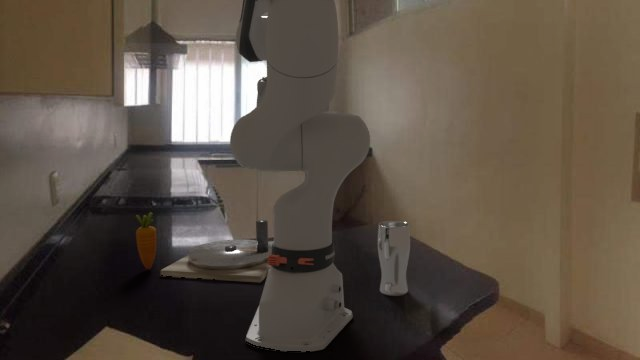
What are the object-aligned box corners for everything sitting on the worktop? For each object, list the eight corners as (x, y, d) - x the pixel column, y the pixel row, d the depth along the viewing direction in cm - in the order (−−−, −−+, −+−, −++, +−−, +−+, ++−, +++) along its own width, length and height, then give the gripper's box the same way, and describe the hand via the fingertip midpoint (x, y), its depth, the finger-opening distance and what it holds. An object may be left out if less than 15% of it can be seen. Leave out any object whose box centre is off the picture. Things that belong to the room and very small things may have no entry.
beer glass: (409, 297, 99) (410, 228, 97) (376, 295, 100) (376, 227, 99) (410, 286, 106) (410, 221, 104) (378, 284, 107) (378, 220, 105)
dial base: (260, 282, 110) (260, 275, 110) (160, 276, 116) (160, 269, 116) (291, 252, 135) (291, 246, 135) (208, 248, 141) (208, 243, 141)
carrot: (134, 272, 120) (130, 214, 118) (146, 266, 124) (143, 210, 123) (150, 273, 118) (146, 215, 116) (162, 267, 123) (159, 211, 121)
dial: (255, 272, 112) (253, 231, 111) (172, 267, 117) (169, 227, 116) (282, 248, 134) (281, 213, 132) (211, 244, 139) (210, 211, 137)
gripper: (264, 75, 108) (266, 135, 110) (332, 78, 120) (333, 132, 122) (250, 77, 113) (252, 135, 115) (317, 80, 125) (318, 132, 127)
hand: (294, 133), depth 119 cm, fingers open, 8 cm apart
